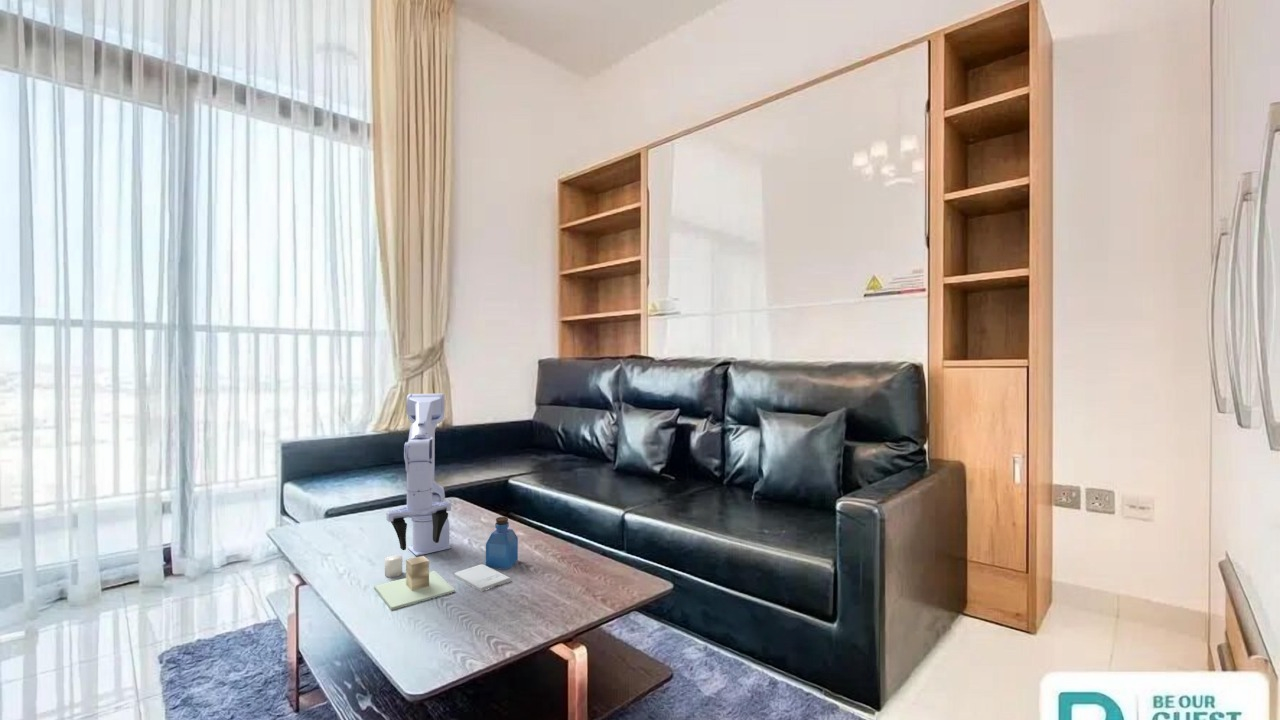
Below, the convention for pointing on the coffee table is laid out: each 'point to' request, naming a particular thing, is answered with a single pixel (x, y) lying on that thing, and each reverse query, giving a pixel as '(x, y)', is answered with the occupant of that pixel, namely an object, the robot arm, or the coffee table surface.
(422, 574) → the birch block
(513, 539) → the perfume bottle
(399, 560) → the ceramic cylinder
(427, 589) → the sage mat
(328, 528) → the coffee table surface
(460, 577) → the external hard drive
